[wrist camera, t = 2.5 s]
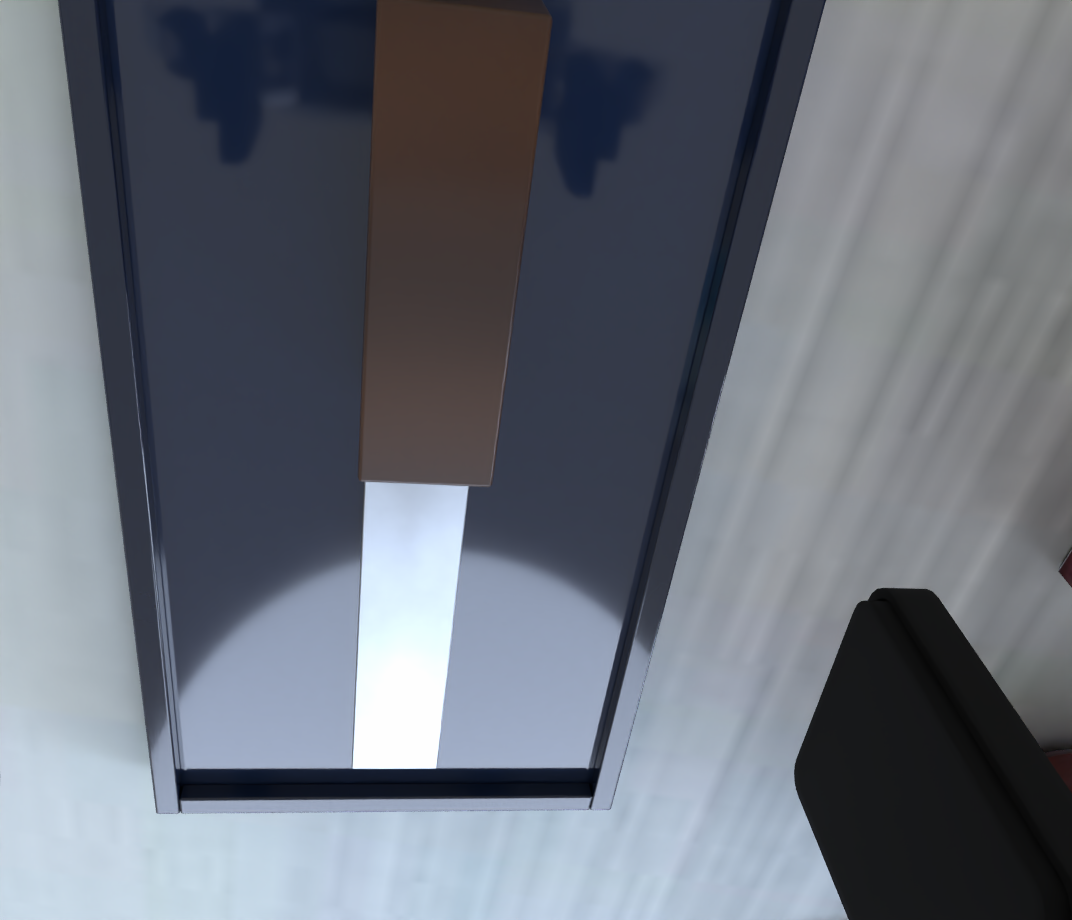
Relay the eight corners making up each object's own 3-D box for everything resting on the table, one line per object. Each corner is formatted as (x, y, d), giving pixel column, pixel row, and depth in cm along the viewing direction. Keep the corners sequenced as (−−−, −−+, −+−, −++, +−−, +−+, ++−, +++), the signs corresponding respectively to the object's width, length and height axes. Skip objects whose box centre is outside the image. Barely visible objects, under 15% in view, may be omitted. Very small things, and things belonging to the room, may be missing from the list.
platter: (58, -202, 15) (31, -200, 14) (821, -93, 17) (849, -83, 16) (165, 773, 27) (155, 814, 26) (603, 771, 29) (610, 810, 28)
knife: (380, -42, 16) (376, -6, 13) (531, -23, 16) (554, 14, 14) (348, 760, 26) (342, 862, 24) (440, 759, 27) (444, 860, 24)
